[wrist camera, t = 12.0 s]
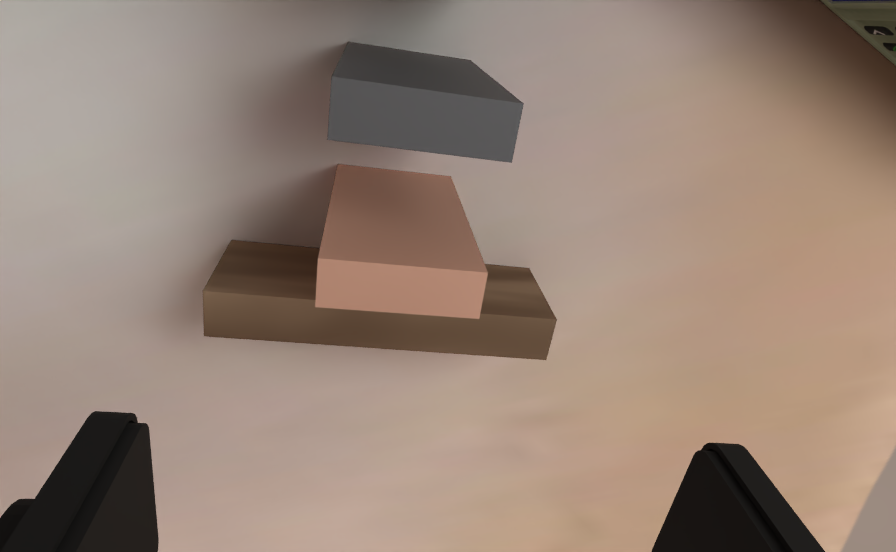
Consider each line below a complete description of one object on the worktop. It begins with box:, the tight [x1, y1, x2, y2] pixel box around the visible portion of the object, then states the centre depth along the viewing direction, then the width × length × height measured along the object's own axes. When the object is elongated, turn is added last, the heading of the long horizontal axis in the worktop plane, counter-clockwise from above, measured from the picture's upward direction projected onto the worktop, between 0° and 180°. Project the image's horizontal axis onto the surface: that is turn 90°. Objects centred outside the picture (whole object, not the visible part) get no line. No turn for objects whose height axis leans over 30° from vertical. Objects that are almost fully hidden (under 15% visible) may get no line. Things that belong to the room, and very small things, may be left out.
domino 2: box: [315, 164, 488, 319], centre depth 22 cm, size 2×5×10 cm, turn 82°
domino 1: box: [327, 42, 523, 163], centre depth 20 cm, size 2×5×10 cm, turn 82°
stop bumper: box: [203, 240, 557, 360], centre depth 26 cm, size 2×14×5 cm, turn 81°
